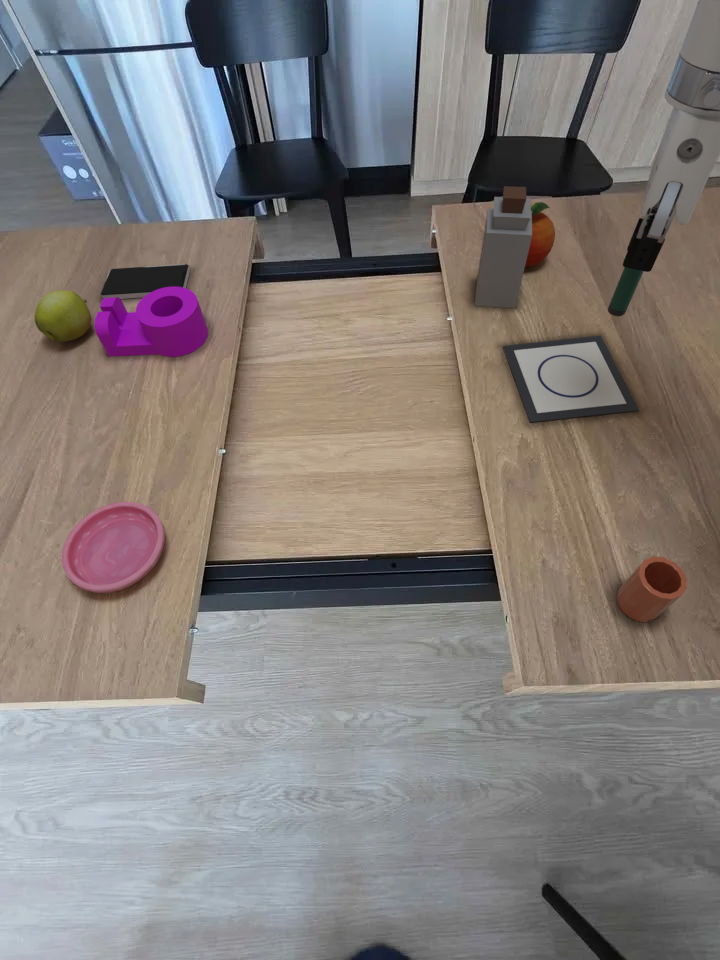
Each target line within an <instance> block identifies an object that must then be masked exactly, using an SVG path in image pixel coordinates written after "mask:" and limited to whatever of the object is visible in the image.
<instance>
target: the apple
mask: <svg viewBox="0 0 720 960" xmlns="http://www.w3.org/2000/svg"><path fill="white" fill-rule="evenodd" d="M86 303H88V301H87V299H85V298H82V297H81V296H80V295H79V294H78V293H77V292H74V291H71V290H68V289H67V290H66V289H57V290H52V291H50V292H48V293H47V294H45V295H44V296H43V297H42V298H41V299H40V301H39V302H38V304H37V306H36V307H35V308H36V309H35V312H34V322H35V325H36V328H37V329H38V331H39V332H40V333H42V334H43V335H44V336H46V337H48V339H50V340H52V341H54V342H58V343H65V342H66V343H67V342H71V341H73V340H74V341H75V340H76V339H79V338H81V337H82V336H83V335H85V334H86V333H87V332H88V330H89V329H90V327H91V324H92V314H91V311H90V309H89V308H88V305H87V304H86Z"/></svg>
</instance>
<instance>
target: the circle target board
mask: <svg viewBox="0 0 720 960" xmlns="http://www.w3.org/2000/svg"><path fill="white" fill-rule="evenodd" d="M502 348H503V352H504V354H505V358H506V360H507V363H508V366H509V369H510V371H511V374H512V377H513V380H514V383H515V386H516V388H517V391H518V394H519V397H520V399H521V403H522V405H523V407H524V410H525V413H526V416H527V418H528V421H529V423H530V424H535V423H545V422H551V421H553V422H554V421H561V420H570V419H578V418H579V419H580V418H588V417H598V416H607V415H616V414H625V413H632V412H634V413H635V412H639V411H640V409H639V407H638V405H637V403H636V400H635V399H634V397H633V395H632V393H631V392H630V389H629V387H628V385H627V384H626V381H625V380H624V377H623V375H622V374H621V372H620V370H619V367H618V366H617V364H616V362H615V361H614V358H613V356H612V355H611V352H610V350H609V348H608V346H607V345H606V343H605V341H604V339H603V337H602V335H592V336H583V337H582V336H581V337H574V338H573V337H572V338H565V339H564V338H563V339H553V340H545V341H535V342H527V343H526V342H525V343H517V344H507V345H503V346H502Z"/></svg>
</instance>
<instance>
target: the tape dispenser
mask: <svg viewBox="0 0 720 960" xmlns="http://www.w3.org/2000/svg"><path fill="white" fill-rule="evenodd" d="M99 309H100V310H101V311H97V312H96V316H95V318H94V330H95V334H96V336H97V338H98V340H99V342H100V343H101V345H102V347H103V349H104V351H105V352H106V354H107V355H108V357H129V356H151V355H152V356H153V355H160V356H162V357H167V358H168V357H169V358H175V357H183V356H187V355H188V354H192V353H193V352H195V351H197V350H198V349H200V348H201V347H202V346H203V345H204V344H205V342H206V341H207V340H208V337H209V329H208V326H207V323H206V319H205V317H204V315H203V311H202V308H201V306H200V303H199V300H198V297H197V295H196V294H195V293H194V292H193V291H192V290H191V289H189V288H187V287H186V288H183V287H165V288H161V289H158V290H155V291H153V292H151V293H149V294H147V295H146V296H145V297H142V298H141V299H140V300H139V302H138V303H137V305H136V306H135V311H132V312H131V311H130V312H128V310H127V308H126V306H125V304H124V302H123V299H120V298H119V297H112V298H102V300H101V302H100V305H99Z"/></svg>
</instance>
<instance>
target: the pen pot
mask: <svg viewBox="0 0 720 960" xmlns="http://www.w3.org/2000/svg"><path fill="white" fill-rule="evenodd" d="M687 588H688V578H687V576H686V574H685V572H684V570H683V569H682V567H680V566H679V564H677V563H676V562H675V561H674V560H673V561H672V560H671V559H668V558H666V557H663V556H651V557H648V558H646V559H644V560H643V561H642V562H641V563H640V564H639V566H638V567H637V568H636V569H635V570H634V571H633V573H632V574H631V575H630V576H629V577H628V578H627V579H626V580H625V582H624V583H623V584H622V585H621V587H620V588H618V591H617V593H616V600H617V604H618V607H619V608H620V610H621V612H623V614H625V616H627V617H628V618H630V619H631V620H634V621H637V622H643V623H644V622H646V623H647V622H651V621H653V620H655V619H657V618H658V617H659V616H660V615H661V614H663V613H664V612H665V611H666V610H667V609H668V608H669V607H671V606H672V605H673V604H674V603H675V602H676V601H677V600H679V599H680V598H681V597H682V596H683V595H684V594H685V592H686V590H687Z"/></svg>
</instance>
